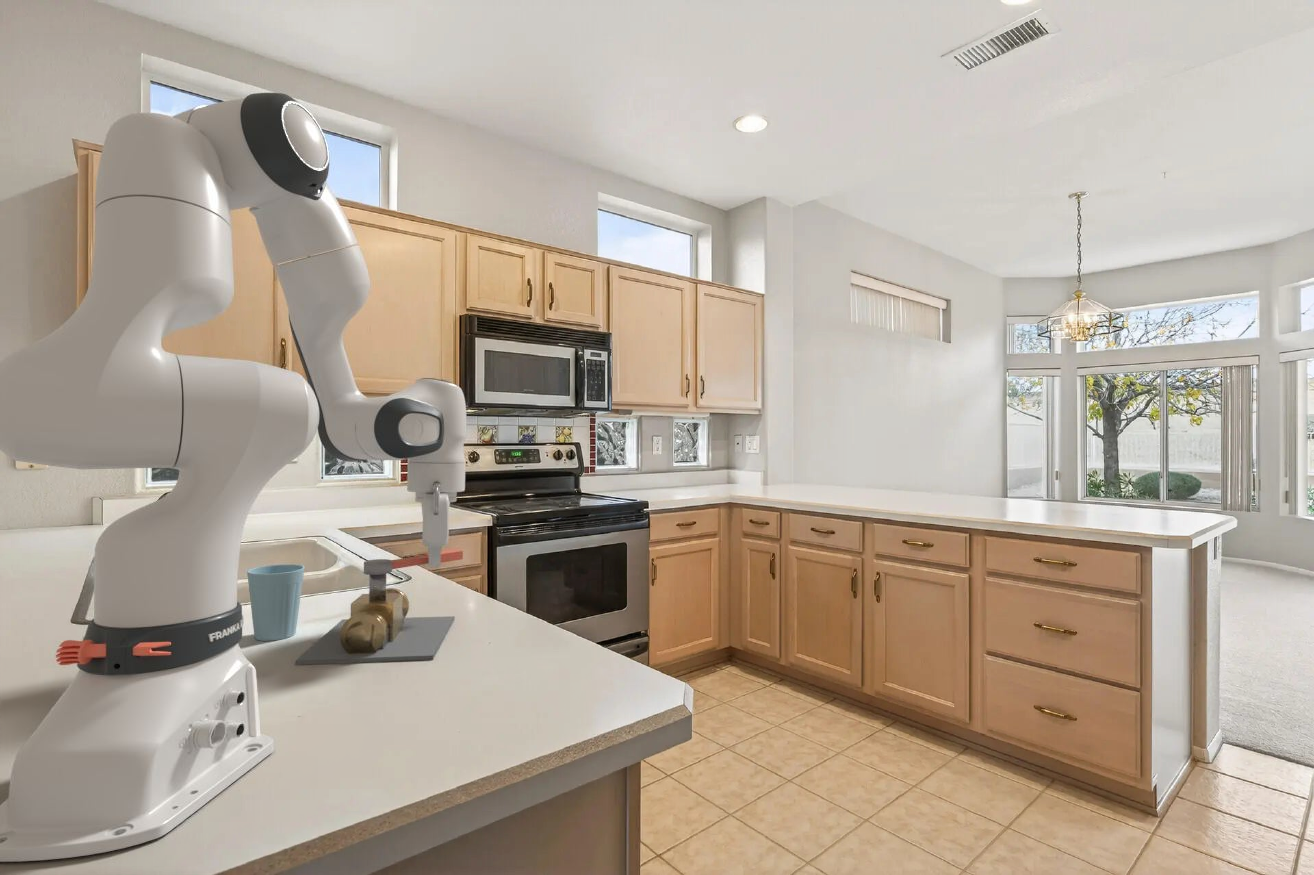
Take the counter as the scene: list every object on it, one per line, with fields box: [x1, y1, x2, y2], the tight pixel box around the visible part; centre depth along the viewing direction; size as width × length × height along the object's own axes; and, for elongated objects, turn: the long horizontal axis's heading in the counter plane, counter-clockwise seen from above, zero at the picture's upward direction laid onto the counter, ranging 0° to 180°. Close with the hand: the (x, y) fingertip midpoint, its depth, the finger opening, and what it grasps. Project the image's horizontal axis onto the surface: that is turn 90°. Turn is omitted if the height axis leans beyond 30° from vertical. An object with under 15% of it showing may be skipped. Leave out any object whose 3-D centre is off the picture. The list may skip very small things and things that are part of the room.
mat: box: [294, 616, 455, 666], centre depth 100 cm, size 20×18×1 cm
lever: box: [363, 548, 464, 576], centre depth 105 cm, size 16×4×2 cm, turn 143°
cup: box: [246, 563, 305, 642], centre depth 101 cm, size 8×8×10 cm
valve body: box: [340, 574, 410, 654], centre depth 100 cm, size 16×6×10 cm, turn 9°
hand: (434, 566), depth 105 cm, fingers closed
